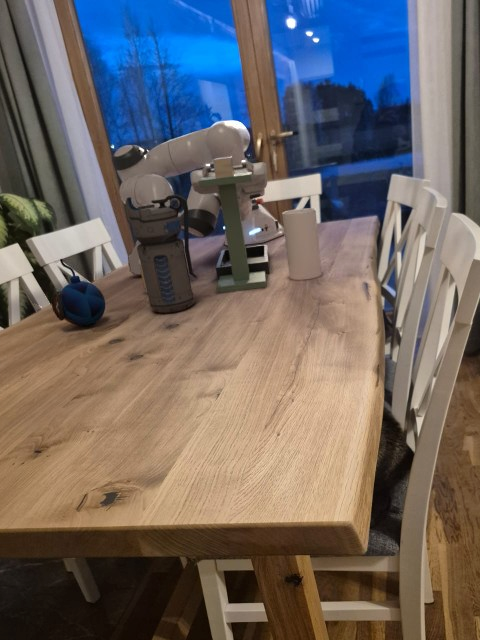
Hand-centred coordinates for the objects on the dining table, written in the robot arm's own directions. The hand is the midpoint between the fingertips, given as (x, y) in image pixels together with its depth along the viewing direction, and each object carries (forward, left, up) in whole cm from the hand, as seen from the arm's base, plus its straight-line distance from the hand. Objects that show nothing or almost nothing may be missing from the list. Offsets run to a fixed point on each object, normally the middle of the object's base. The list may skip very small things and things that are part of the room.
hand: (225, 163), depth 146 cm
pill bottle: (+21, -11, -28) cm, 37 cm away
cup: (-4, +19, -28) cm, 35 cm away
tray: (-7, -7, -28) cm, 30 cm away
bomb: (+47, -2, -28) cm, 55 cm away
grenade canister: (+29, +8, -28) cm, 41 cm away
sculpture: (+5, -36, -28) cm, 46 cm away
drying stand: (+8, +8, -28) cm, 30 cm away
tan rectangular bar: (+4, +4, -2) cm, 6 cm away
